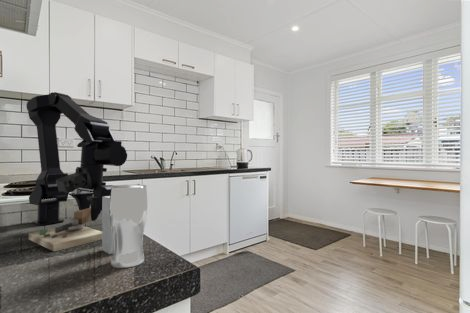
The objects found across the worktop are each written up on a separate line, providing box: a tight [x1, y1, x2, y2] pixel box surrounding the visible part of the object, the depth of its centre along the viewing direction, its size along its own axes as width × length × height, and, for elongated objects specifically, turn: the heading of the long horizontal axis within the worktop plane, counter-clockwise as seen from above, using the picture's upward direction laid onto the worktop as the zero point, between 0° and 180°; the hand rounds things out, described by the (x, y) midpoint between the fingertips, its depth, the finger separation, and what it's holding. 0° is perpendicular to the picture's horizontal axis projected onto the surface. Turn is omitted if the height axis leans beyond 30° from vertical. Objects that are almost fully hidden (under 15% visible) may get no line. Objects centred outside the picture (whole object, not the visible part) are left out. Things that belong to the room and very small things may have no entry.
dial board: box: [27, 225, 102, 252], centre depth 65 cm, size 14×12×2 cm
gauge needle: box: [54, 207, 93, 233], centre depth 69 cm, size 13×4×4 cm, turn 172°
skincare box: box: [101, 196, 114, 255], centre depth 58 cm, size 6×4×12 cm
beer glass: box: [109, 184, 148, 269], centre depth 51 cm, size 7×7×15 cm
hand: (88, 219), depth 73 cm, fingers open, 4 cm apart
